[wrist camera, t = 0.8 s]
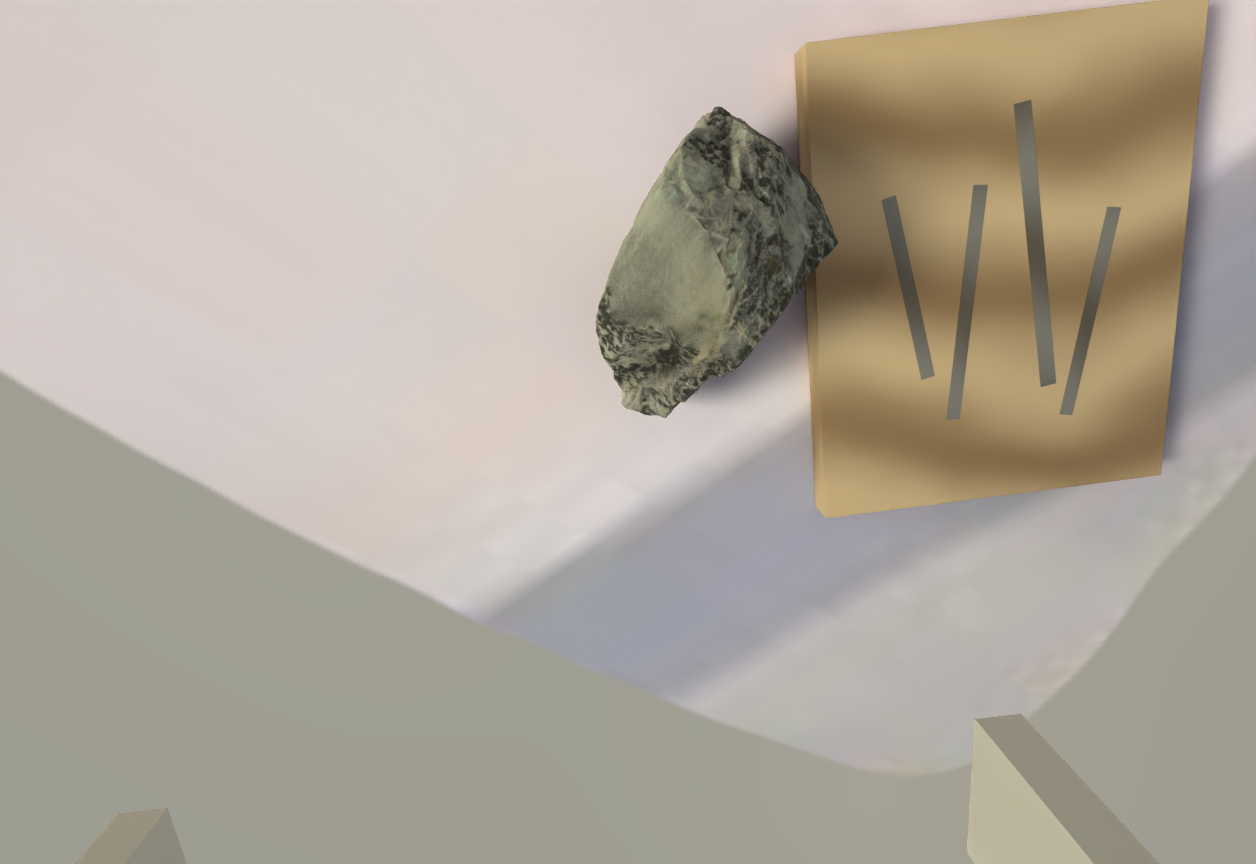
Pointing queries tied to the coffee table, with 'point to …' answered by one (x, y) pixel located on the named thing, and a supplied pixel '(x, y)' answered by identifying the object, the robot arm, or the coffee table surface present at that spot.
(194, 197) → the coffee table surface
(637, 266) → the stone
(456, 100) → the coffee table surface
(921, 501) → the board
